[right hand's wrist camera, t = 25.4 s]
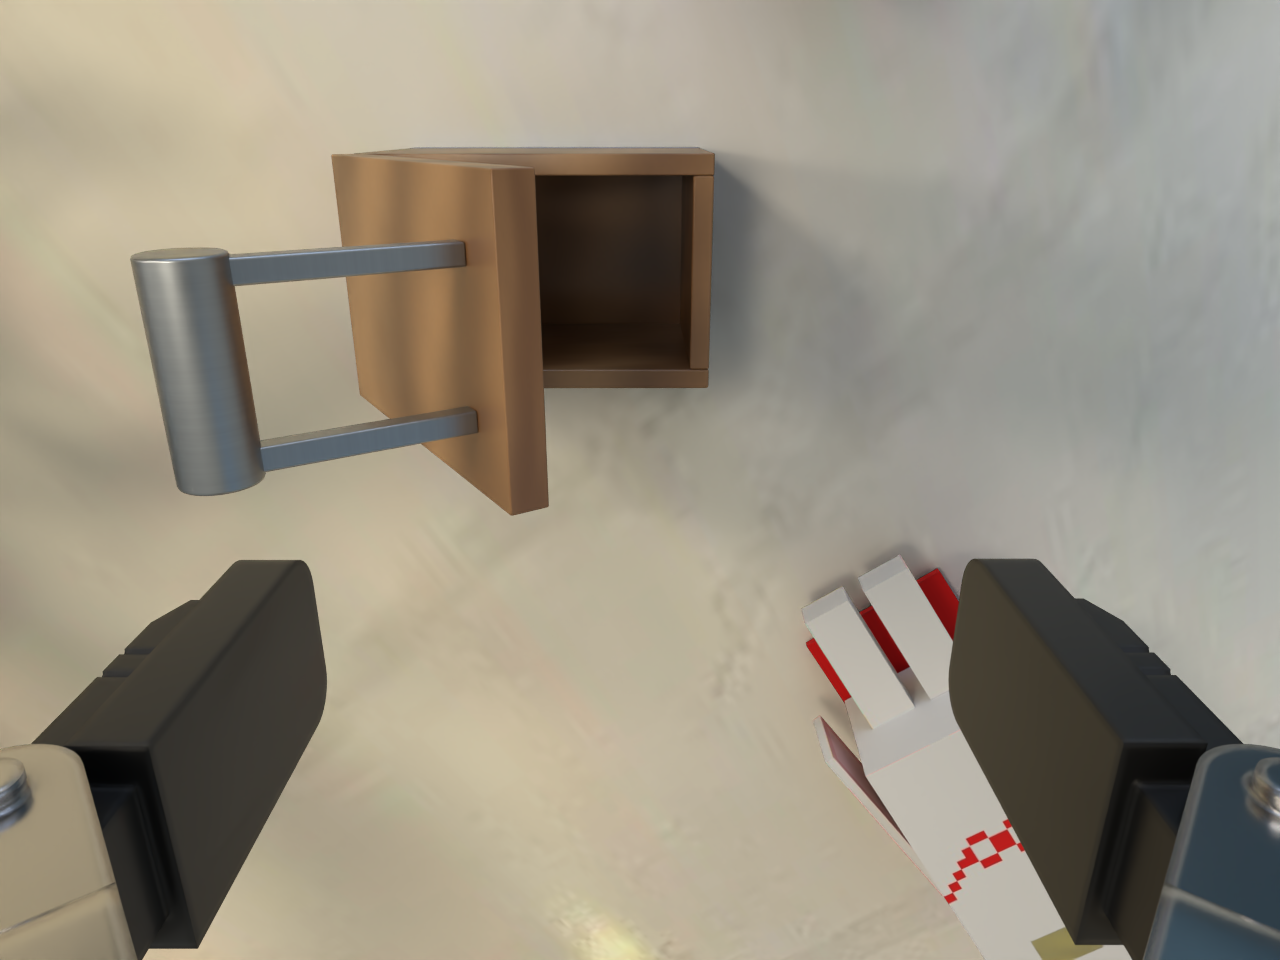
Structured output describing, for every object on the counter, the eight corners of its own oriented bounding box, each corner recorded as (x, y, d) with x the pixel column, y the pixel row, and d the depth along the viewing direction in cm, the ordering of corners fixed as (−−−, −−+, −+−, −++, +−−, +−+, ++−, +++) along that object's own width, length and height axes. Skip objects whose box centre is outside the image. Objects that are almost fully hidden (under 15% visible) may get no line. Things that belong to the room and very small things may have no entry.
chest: (698, 147, 45) (715, 152, 35) (694, 335, 49) (708, 388, 39) (414, 147, 45) (352, 153, 35) (431, 335, 49) (378, 388, 39)
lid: (535, 167, 23) (121, 177, 18) (549, 507, 27) (204, 589, 22) (363, 153, 35) (84, 158, 30) (388, 390, 38) (142, 428, 34)
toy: (979, 573, 43) (1243, 1020, 48) (918, 496, 56) (1132, 856, 61) (761, 689, 46) (1034, 1102, 51) (751, 590, 58) (970, 928, 64)
